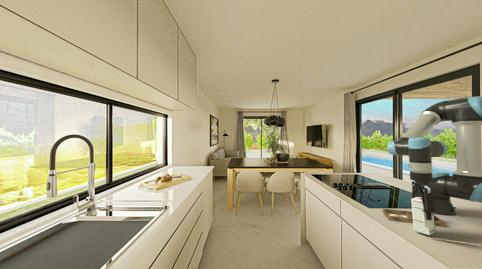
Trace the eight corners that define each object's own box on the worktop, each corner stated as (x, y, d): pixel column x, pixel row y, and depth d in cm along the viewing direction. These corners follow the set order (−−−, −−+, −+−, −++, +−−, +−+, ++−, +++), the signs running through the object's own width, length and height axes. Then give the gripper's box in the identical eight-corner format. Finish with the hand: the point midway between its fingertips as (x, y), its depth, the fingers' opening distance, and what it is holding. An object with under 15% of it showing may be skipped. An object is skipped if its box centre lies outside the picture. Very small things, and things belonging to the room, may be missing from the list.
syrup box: (430, 235, 82) (428, 201, 83) (412, 230, 88) (411, 198, 88) (435, 232, 85) (433, 199, 85) (418, 227, 90) (416, 195, 90)
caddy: (432, 219, 103) (431, 213, 103) (445, 228, 92) (444, 222, 92) (382, 213, 112) (382, 208, 112) (389, 221, 101) (388, 216, 101)
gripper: (401, 168, 98) (404, 213, 97) (420, 175, 79) (423, 232, 78) (420, 168, 95) (423, 215, 94) (444, 176, 76) (448, 235, 75)
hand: (423, 222), depth 86 cm, fingers closed on syrup box, 8 cm apart
